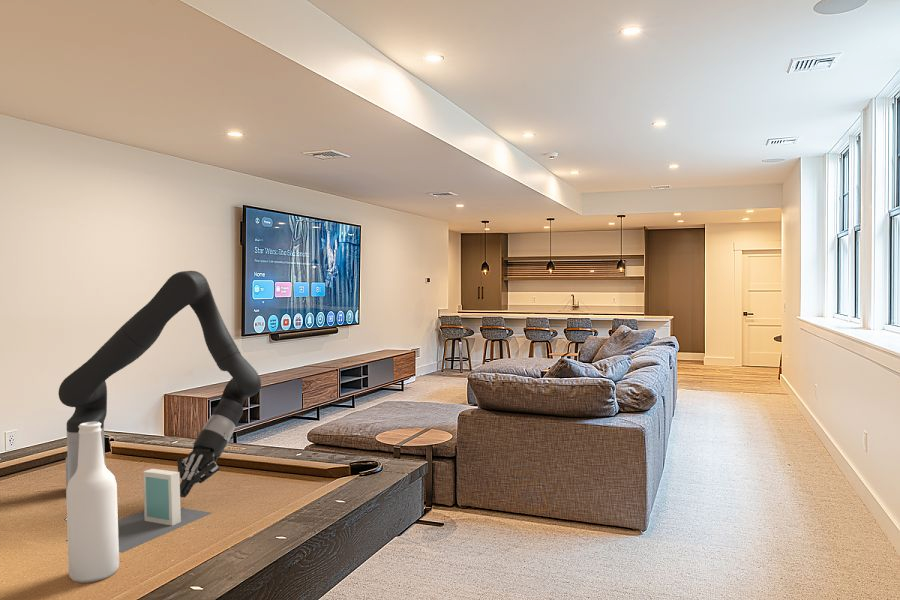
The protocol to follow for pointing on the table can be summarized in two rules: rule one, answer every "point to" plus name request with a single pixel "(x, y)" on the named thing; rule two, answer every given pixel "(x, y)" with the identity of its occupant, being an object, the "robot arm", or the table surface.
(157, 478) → the tile
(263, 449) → the table surface
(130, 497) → the table surface
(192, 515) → the mat
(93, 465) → the alcohol
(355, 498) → the table surface
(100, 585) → the table surface
